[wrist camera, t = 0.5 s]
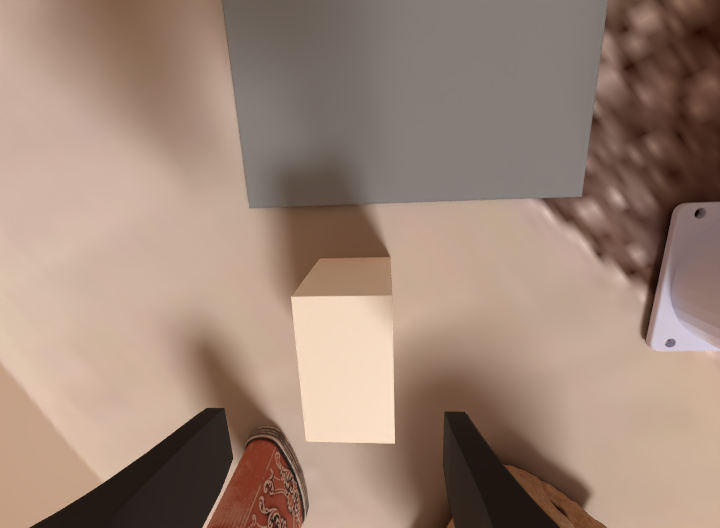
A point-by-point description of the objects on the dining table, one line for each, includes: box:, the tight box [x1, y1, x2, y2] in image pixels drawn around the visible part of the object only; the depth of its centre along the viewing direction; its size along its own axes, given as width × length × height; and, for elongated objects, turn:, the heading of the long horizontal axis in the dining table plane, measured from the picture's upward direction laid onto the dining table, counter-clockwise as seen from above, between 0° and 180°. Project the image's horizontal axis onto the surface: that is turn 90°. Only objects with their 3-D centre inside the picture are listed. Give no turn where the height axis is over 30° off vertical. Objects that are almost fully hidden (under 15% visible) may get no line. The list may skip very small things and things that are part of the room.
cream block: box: [291, 257, 395, 444], centre depth 17 cm, size 4×7×6 cm, turn 2°
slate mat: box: [222, 0, 608, 208], centre depth 16 cm, size 17×15×1 cm
